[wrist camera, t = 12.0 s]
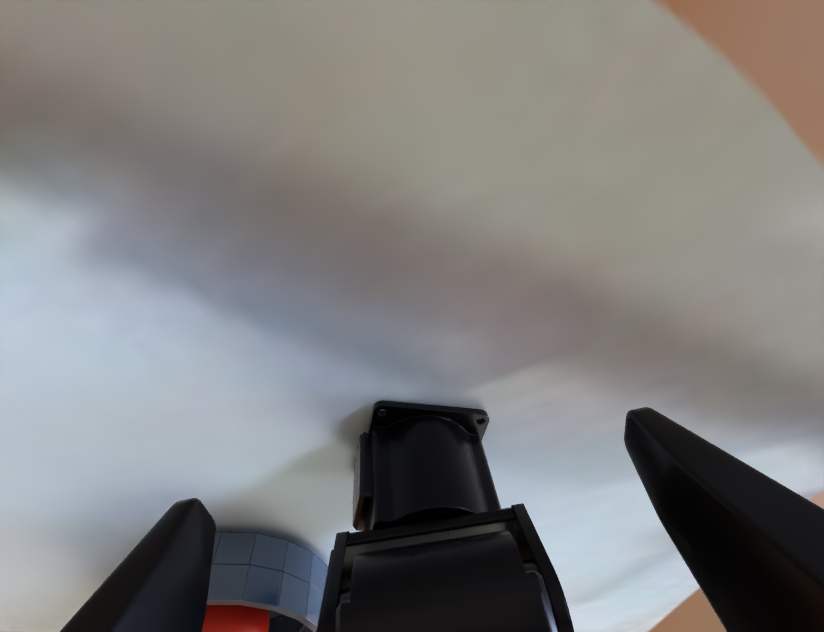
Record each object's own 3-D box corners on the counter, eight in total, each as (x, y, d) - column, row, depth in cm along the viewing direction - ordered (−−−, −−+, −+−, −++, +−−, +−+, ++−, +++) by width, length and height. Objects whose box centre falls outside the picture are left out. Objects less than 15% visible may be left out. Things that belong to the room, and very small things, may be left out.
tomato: (277, 569, 30) (262, 658, 26) (273, 607, 33) (259, 694, 28) (199, 567, 30) (170, 659, 25) (202, 607, 32) (176, 697, 28)
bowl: (344, 529, 30) (341, 600, 26) (324, 627, 36) (319, 696, 32) (128, 520, 27) (89, 598, 23) (148, 628, 34) (121, 702, 30)
